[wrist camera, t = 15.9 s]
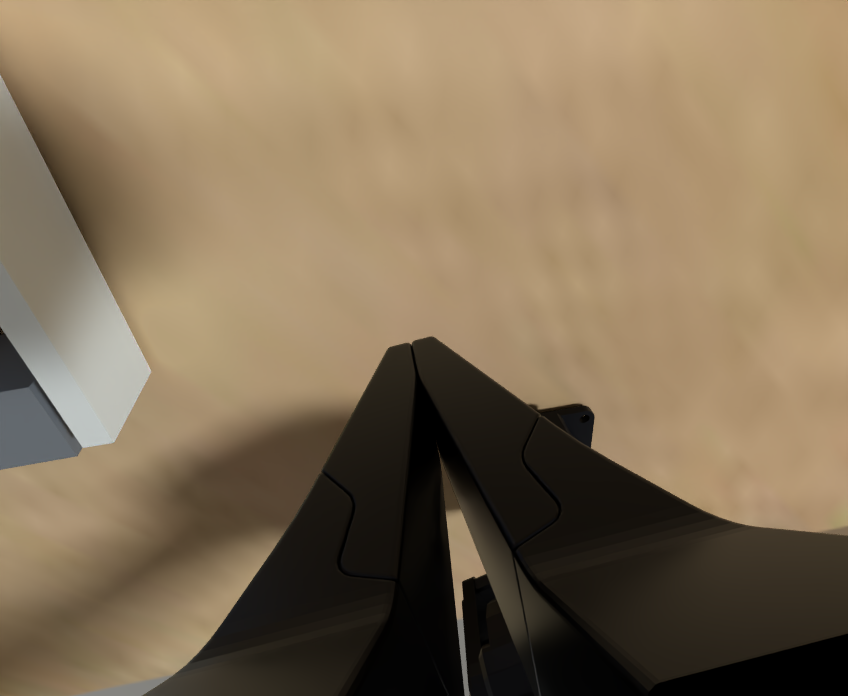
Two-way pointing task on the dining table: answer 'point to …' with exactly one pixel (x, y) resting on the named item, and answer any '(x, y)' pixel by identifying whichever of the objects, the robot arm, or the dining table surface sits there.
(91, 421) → the light grey flat bar
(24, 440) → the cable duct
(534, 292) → the dining table surface
